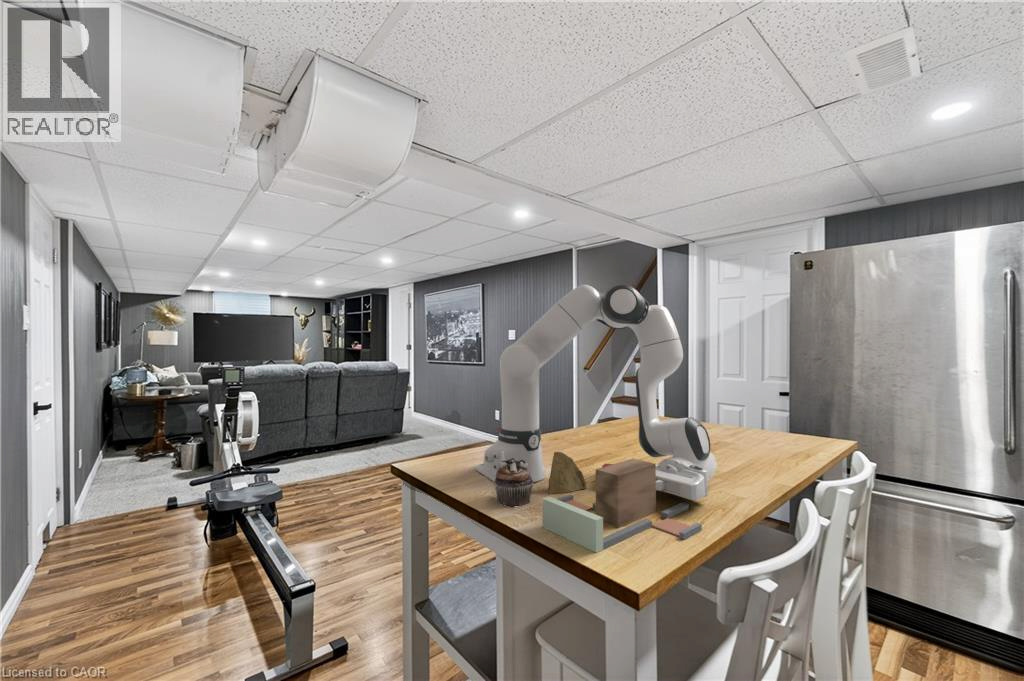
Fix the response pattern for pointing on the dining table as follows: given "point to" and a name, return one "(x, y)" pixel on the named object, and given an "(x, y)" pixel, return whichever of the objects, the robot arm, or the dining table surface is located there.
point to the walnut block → (625, 491)
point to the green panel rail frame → (588, 527)
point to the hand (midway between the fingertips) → (643, 486)
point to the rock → (565, 475)
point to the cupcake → (513, 483)
